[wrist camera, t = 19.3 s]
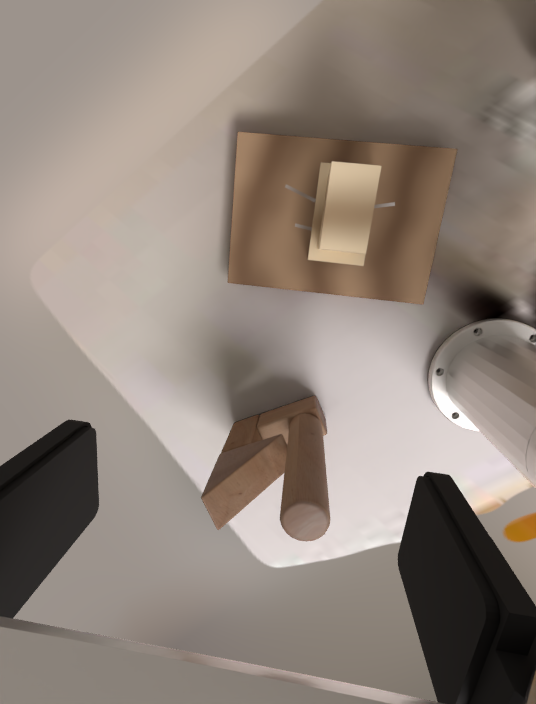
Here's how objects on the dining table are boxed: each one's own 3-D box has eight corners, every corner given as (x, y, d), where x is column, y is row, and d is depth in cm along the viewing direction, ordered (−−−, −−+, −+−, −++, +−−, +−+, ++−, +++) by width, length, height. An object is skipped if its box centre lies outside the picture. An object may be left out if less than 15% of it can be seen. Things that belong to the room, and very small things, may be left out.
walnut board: (448, 154, 34) (457, 148, 32) (417, 301, 37) (423, 304, 35) (241, 138, 35) (237, 131, 33) (231, 281, 39) (227, 282, 37)
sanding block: (319, 172, 33) (323, 144, 25) (373, 177, 33) (395, 151, 25) (307, 259, 35) (307, 260, 27) (357, 264, 35) (373, 268, 27)
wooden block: (233, 421, 43) (184, 531, 26) (315, 393, 41) (321, 493, 24) (244, 446, 44) (205, 570, 27) (326, 420, 42) (340, 536, 25)
